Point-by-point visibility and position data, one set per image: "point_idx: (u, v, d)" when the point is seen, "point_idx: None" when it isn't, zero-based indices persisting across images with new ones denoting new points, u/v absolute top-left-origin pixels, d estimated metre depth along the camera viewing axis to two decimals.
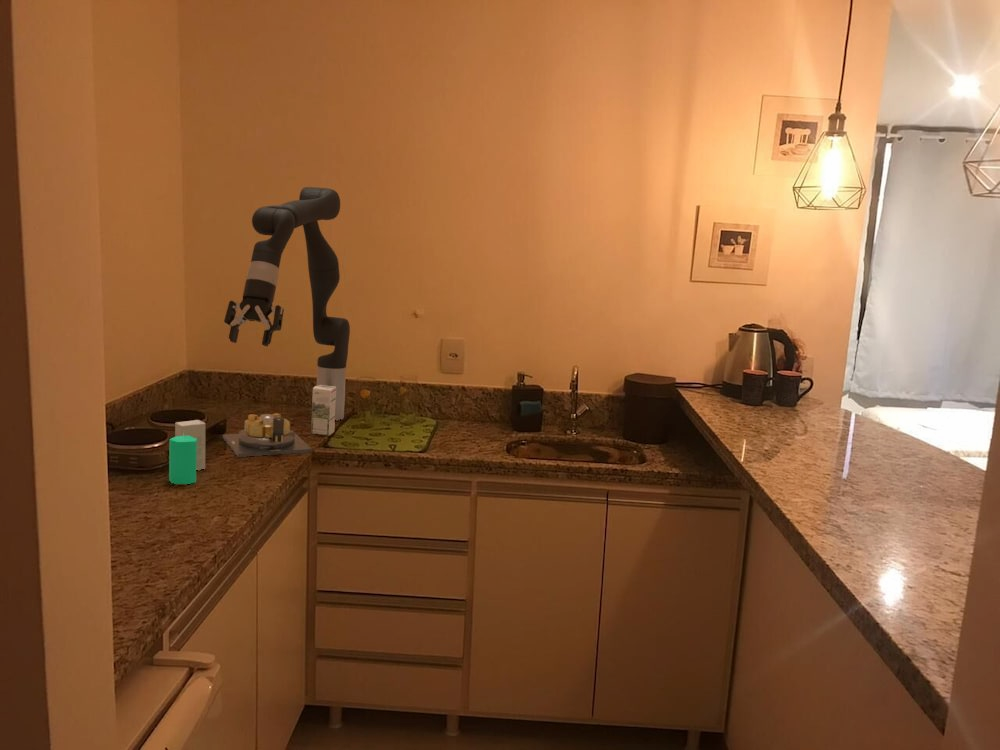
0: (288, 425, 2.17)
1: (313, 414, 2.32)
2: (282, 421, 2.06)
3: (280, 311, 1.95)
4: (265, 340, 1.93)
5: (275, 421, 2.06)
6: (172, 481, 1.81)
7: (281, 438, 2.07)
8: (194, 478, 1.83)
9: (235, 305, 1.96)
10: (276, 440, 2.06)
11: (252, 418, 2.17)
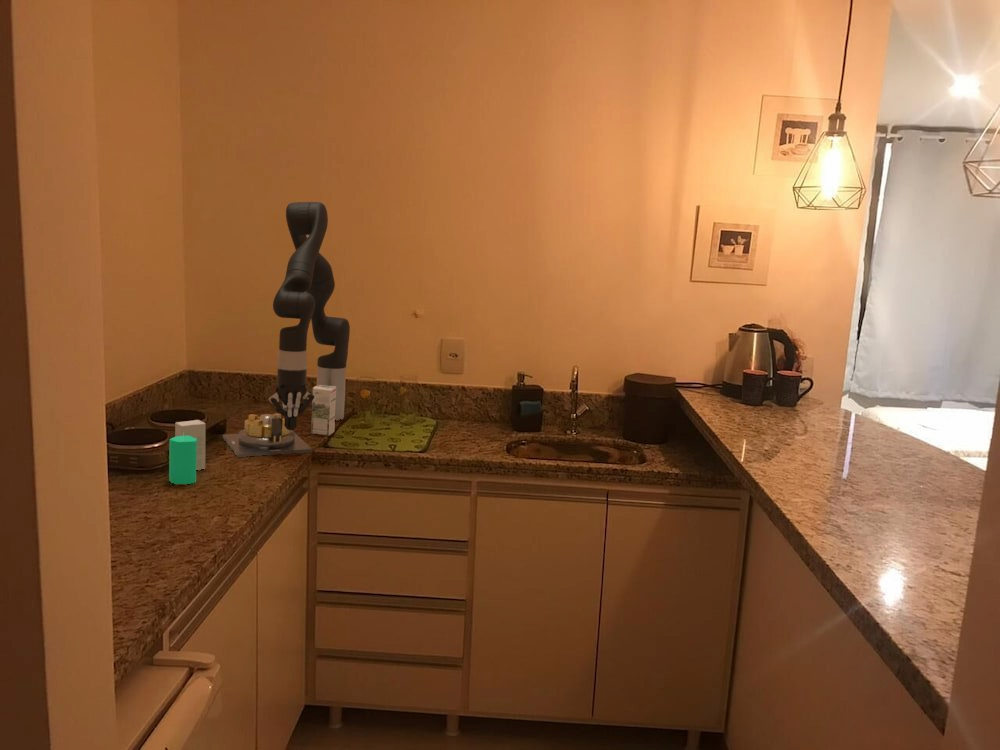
0: None
1: (313, 414, 2.32)
2: (280, 421, 2.06)
3: None
4: (294, 425, 2.09)
5: (273, 421, 2.06)
6: (172, 481, 1.81)
7: (279, 438, 2.07)
8: (194, 478, 1.83)
9: (275, 398, 2.05)
10: (274, 440, 2.06)
11: (252, 418, 2.18)
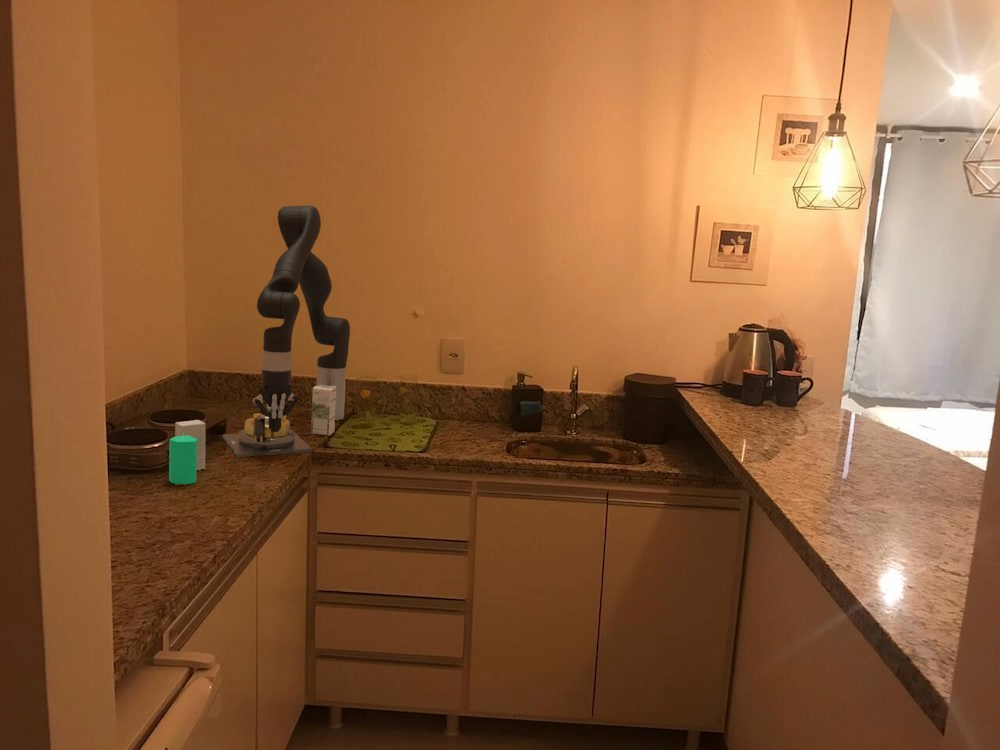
0: (284, 427, 2.15)
1: (313, 414, 2.32)
2: (261, 421, 2.04)
3: None
4: (278, 427, 2.07)
5: (255, 421, 2.04)
6: (172, 481, 1.81)
7: (260, 438, 2.05)
8: (194, 478, 1.83)
9: (259, 399, 2.02)
10: (255, 440, 2.05)
11: (256, 417, 2.19)
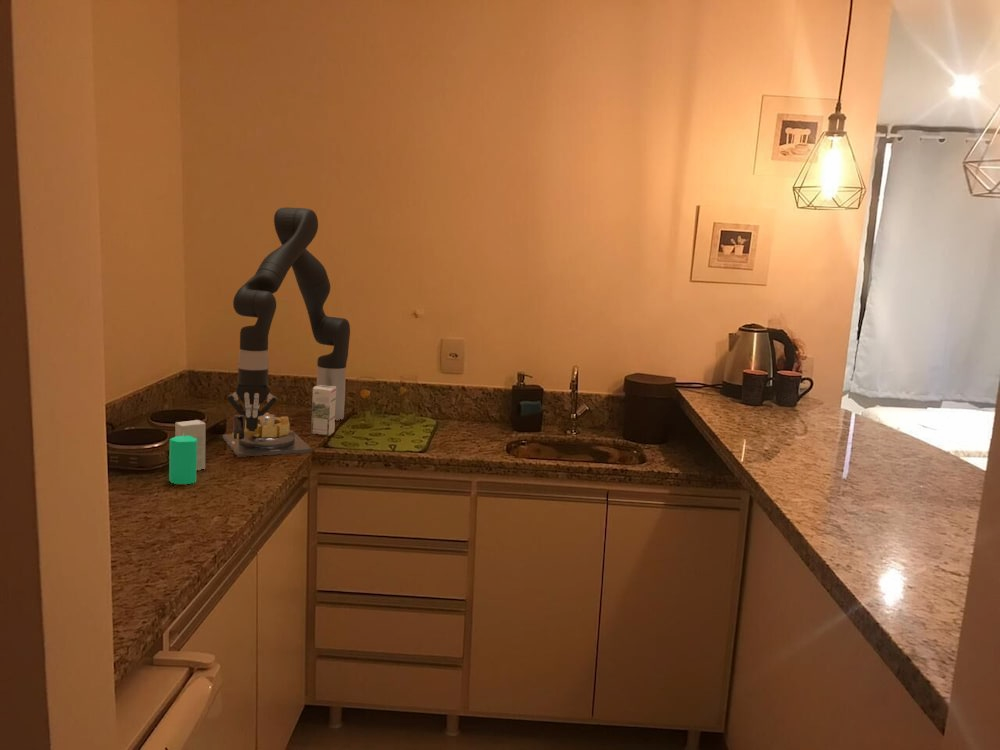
0: (274, 428, 2.13)
1: (313, 414, 2.32)
2: (238, 419, 2.05)
3: (274, 402, 2.05)
4: (254, 427, 2.05)
5: None
6: (172, 481, 1.81)
7: (236, 436, 2.06)
8: (194, 478, 1.83)
9: (233, 396, 2.03)
10: (233, 437, 2.06)
11: None
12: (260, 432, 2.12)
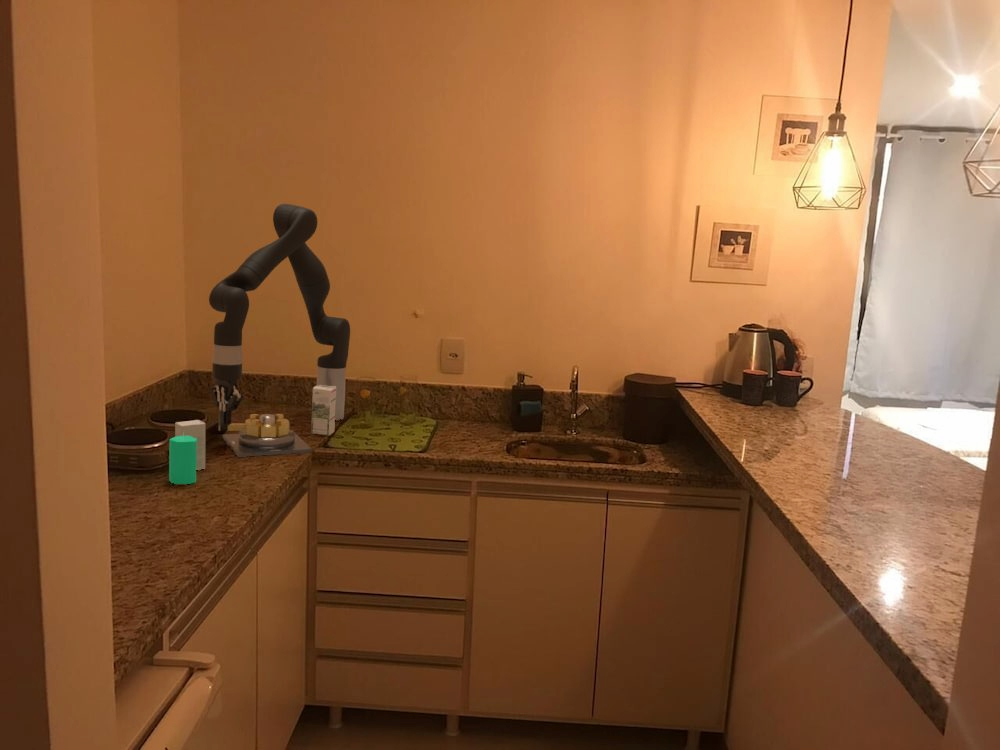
0: (256, 428, 2.12)
1: (313, 414, 2.32)
2: (219, 411, 2.12)
3: (236, 400, 2.05)
4: (224, 421, 2.08)
5: None
6: (172, 481, 1.81)
7: (218, 427, 2.13)
8: (194, 478, 1.83)
9: (216, 388, 2.11)
10: None
11: None
12: None
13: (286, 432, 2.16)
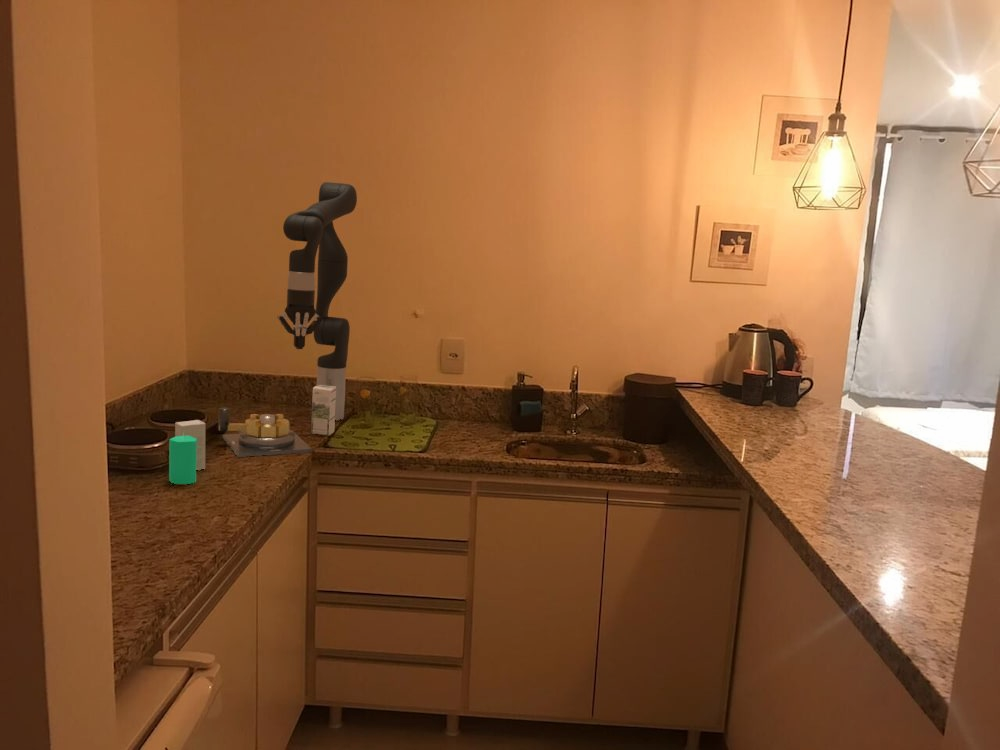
0: (256, 428, 2.12)
1: (313, 414, 2.32)
2: (219, 411, 2.12)
3: None
4: (302, 345, 2.20)
5: None
6: (172, 481, 1.81)
7: (218, 427, 2.13)
8: (194, 478, 1.83)
9: (284, 317, 2.17)
10: None
11: None
12: None
13: (286, 432, 2.16)
